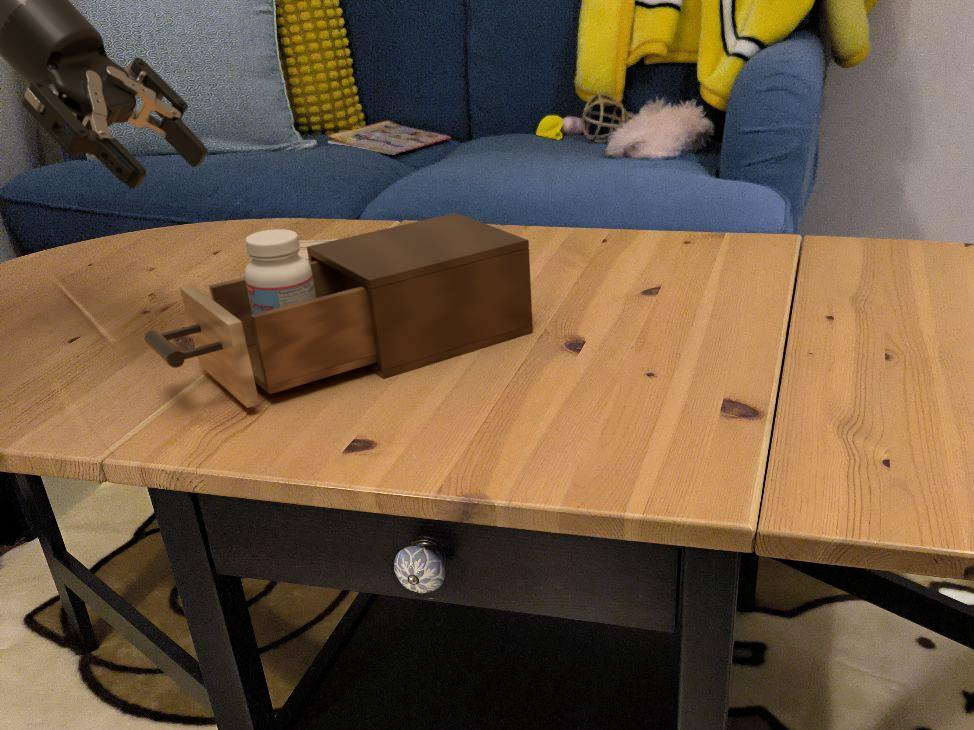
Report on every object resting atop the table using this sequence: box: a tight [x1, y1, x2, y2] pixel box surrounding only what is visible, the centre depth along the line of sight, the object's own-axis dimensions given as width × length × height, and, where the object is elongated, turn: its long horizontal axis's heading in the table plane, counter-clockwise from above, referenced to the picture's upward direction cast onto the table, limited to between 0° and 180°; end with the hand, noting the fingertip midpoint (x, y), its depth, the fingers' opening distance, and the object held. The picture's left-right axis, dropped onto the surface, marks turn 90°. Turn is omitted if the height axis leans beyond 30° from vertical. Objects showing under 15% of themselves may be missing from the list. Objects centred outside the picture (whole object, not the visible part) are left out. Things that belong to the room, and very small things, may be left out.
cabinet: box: [307, 212, 534, 379], centre depth 98 cm, size 18×14×10 cm
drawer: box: [144, 260, 378, 409], centre depth 91 cm, size 21×12×8 cm, turn 126°
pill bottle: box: [243, 228, 316, 315], centre depth 90 cm, size 6×6×11 cm
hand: (172, 170), depth 86 cm, fingers open, 8 cm apart
